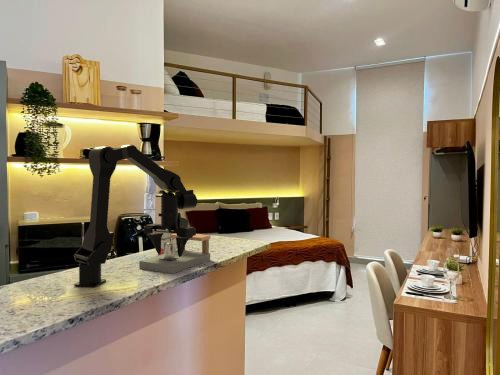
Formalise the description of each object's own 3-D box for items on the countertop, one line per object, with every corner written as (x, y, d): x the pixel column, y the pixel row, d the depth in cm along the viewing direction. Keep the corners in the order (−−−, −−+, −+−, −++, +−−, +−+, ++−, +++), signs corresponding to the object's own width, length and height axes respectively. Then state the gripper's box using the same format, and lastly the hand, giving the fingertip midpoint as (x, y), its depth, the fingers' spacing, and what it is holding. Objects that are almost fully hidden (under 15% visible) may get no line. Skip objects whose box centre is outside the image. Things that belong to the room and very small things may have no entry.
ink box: (169, 255, 146) (169, 225, 145) (157, 255, 147) (157, 225, 146) (178, 251, 154) (178, 222, 154) (166, 250, 155) (166, 222, 155)
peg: (172, 267, 127) (172, 244, 127) (162, 267, 128) (162, 244, 127) (176, 265, 131) (176, 242, 130) (166, 264, 131) (166, 242, 131)
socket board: (172, 273, 120) (172, 245, 119) (139, 268, 126) (139, 241, 126) (210, 260, 139) (210, 235, 139) (180, 255, 146) (180, 232, 145)
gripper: (205, 209, 131) (205, 253, 132) (164, 207, 140) (163, 248, 141) (185, 212, 121) (185, 259, 122) (142, 209, 130) (142, 253, 131)
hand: (169, 255), depth 129 cm, fingers open, 9 cm apart
